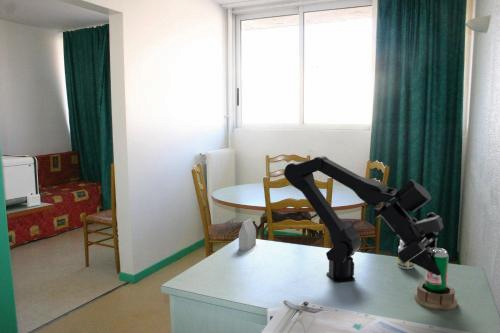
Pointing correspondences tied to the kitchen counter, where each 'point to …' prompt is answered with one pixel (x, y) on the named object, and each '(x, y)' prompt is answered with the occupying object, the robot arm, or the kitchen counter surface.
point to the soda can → (441, 260)
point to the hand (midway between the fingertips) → (442, 271)
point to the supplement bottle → (406, 264)
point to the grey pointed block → (247, 235)
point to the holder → (436, 298)
